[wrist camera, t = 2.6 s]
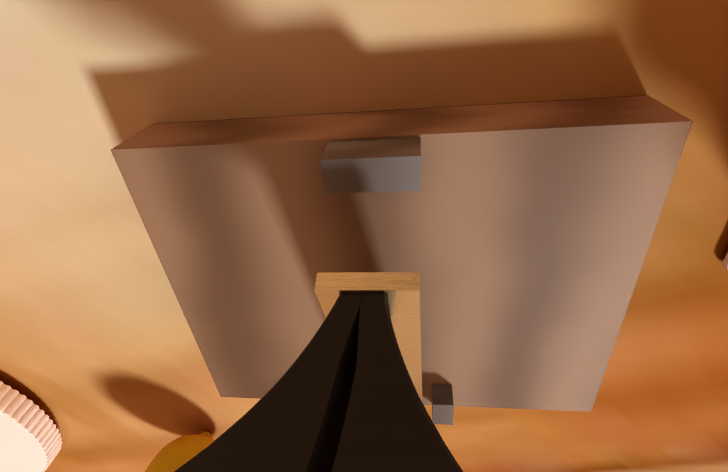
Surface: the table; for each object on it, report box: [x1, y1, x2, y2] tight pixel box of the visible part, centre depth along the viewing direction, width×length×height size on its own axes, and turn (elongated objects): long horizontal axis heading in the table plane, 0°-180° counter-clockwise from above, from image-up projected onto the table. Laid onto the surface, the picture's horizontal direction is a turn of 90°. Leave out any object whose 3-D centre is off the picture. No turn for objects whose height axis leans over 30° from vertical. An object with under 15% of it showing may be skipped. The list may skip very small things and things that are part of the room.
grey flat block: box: [111, 95, 693, 425], centre depth 19 cm, size 20×15×5 cm
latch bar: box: [314, 272, 422, 401], centre depth 17 cm, size 3×12×1 cm, turn 5°
